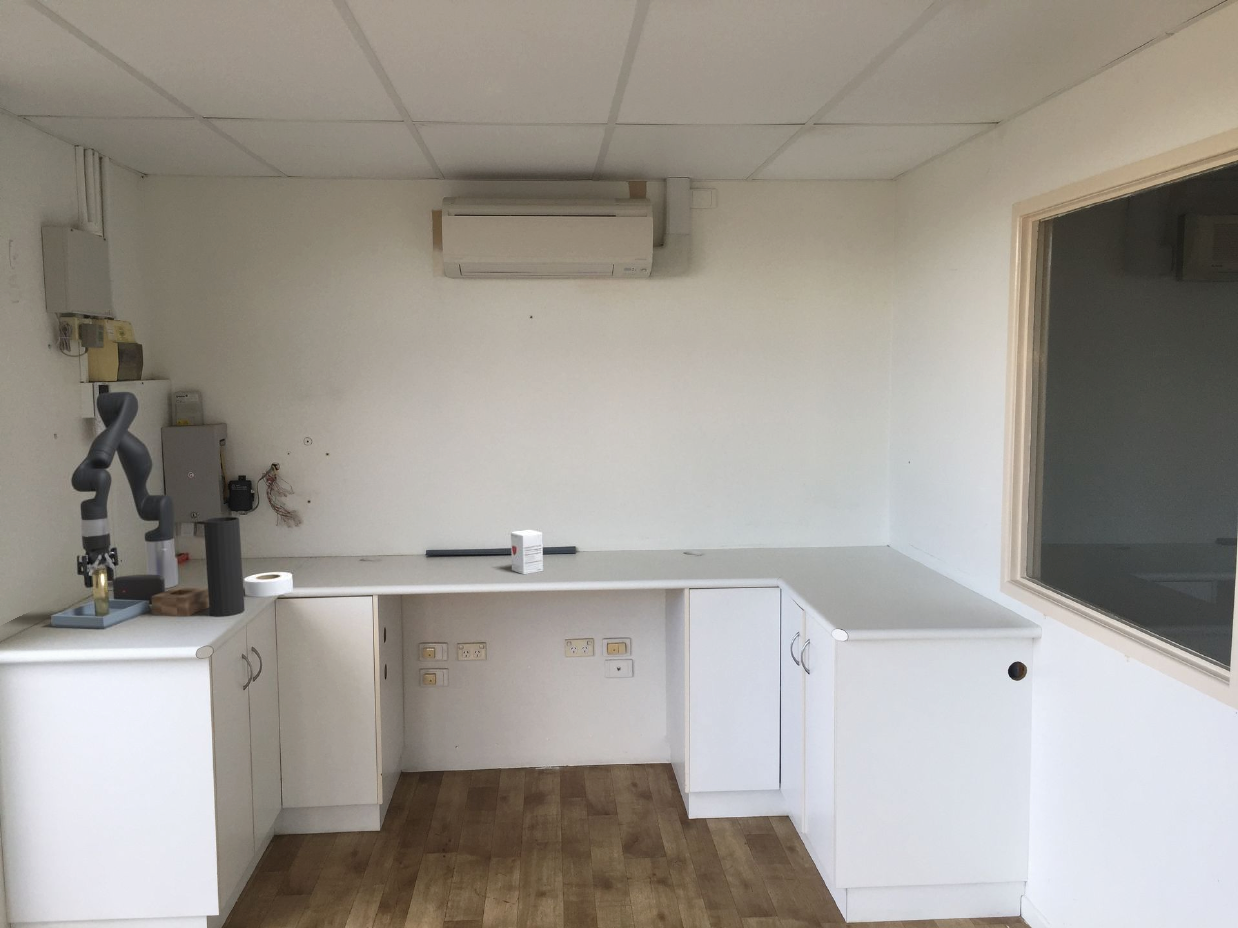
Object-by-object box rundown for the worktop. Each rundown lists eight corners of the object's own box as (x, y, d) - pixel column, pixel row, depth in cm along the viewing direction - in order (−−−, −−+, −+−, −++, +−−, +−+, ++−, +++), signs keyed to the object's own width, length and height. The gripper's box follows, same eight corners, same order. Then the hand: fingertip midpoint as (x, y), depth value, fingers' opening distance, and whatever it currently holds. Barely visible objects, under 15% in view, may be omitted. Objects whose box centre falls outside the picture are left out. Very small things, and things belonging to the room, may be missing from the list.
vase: (204, 612, 282) (198, 520, 278) (235, 606, 289) (229, 515, 286) (218, 618, 275) (212, 523, 272) (250, 611, 282) (244, 518, 279)
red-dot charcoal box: (170, 600, 299) (168, 573, 298) (164, 603, 294) (162, 576, 293) (119, 602, 297) (117, 574, 296) (113, 605, 292) (111, 578, 291)
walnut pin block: (177, 605, 292) (176, 587, 291) (210, 606, 290) (209, 588, 289) (152, 614, 280) (151, 596, 279) (186, 616, 278) (185, 597, 277)
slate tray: (100, 609, 288) (100, 598, 287) (150, 611, 285) (149, 600, 284) (51, 626, 268) (50, 615, 268) (104, 628, 265) (103, 617, 265)
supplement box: (511, 570, 336) (509, 531, 334) (531, 567, 341) (530, 529, 340) (523, 574, 328) (522, 535, 327) (543, 571, 334) (542, 532, 332)
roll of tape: (235, 594, 306) (234, 578, 306) (274, 584, 319) (273, 569, 319) (262, 600, 298) (261, 583, 297) (302, 590, 311) (301, 574, 310)
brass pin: (101, 614, 279) (98, 567, 277) (112, 614, 278) (109, 567, 277) (92, 617, 275) (88, 570, 273) (103, 617, 274) (99, 570, 273)
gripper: (102, 528, 281) (106, 578, 283) (67, 536, 267) (71, 589, 269) (123, 529, 280) (126, 579, 282) (88, 537, 266) (93, 590, 268)
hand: (99, 584), depth 275 cm, fingers open, 8 cm apart
